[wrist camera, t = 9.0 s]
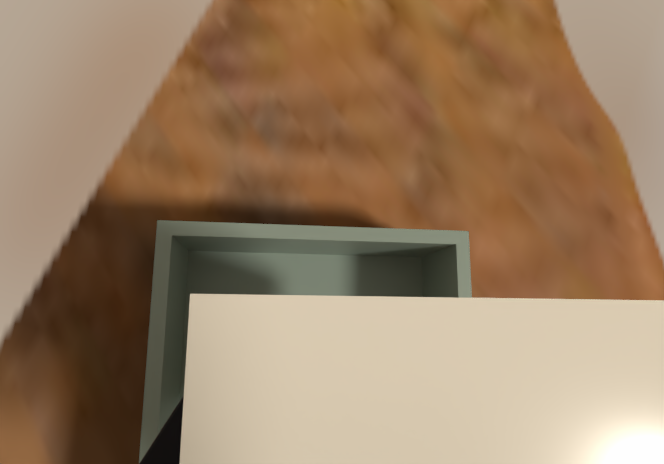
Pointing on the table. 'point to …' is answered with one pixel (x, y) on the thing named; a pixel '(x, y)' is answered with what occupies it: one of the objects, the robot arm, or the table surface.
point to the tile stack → (422, 380)
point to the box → (281, 280)
